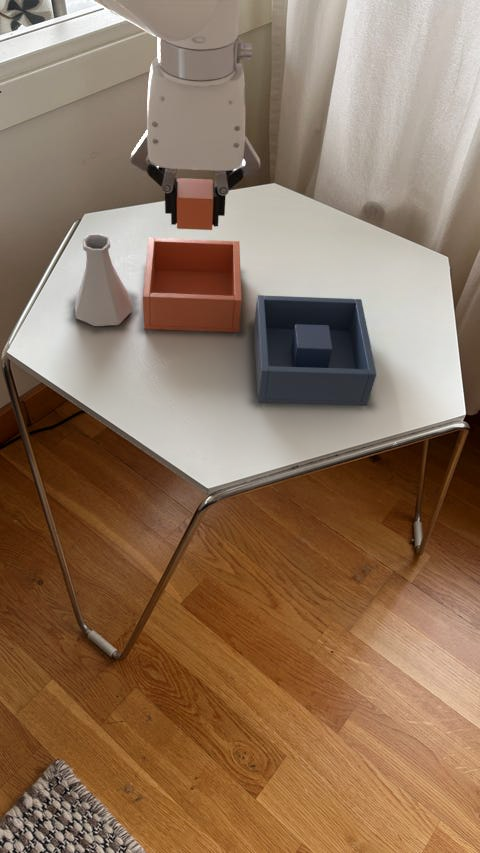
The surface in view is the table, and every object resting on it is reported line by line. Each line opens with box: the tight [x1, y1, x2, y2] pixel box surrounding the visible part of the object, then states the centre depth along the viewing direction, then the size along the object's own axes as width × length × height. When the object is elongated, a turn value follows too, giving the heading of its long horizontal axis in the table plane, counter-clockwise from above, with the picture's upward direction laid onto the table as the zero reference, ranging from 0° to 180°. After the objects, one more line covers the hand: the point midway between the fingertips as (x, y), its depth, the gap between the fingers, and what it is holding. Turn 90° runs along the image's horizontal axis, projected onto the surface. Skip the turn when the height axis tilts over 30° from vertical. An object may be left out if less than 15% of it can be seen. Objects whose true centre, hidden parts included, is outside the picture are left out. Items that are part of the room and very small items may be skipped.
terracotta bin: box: [142, 237, 243, 333], centre depth 89 cm, size 12×12×5 cm
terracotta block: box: [176, 177, 214, 231], centre depth 80 cm, size 4×4×4 cm
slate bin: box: [253, 294, 377, 406], centre depth 83 cm, size 13×13×5 cm
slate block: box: [291, 324, 332, 368], centre depth 83 cm, size 4×4×4 cm
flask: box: [74, 233, 132, 327], centre depth 85 cm, size 7×7×10 cm
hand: (194, 217), depth 82 cm, fingers closed on terracotta block, 4 cm apart
